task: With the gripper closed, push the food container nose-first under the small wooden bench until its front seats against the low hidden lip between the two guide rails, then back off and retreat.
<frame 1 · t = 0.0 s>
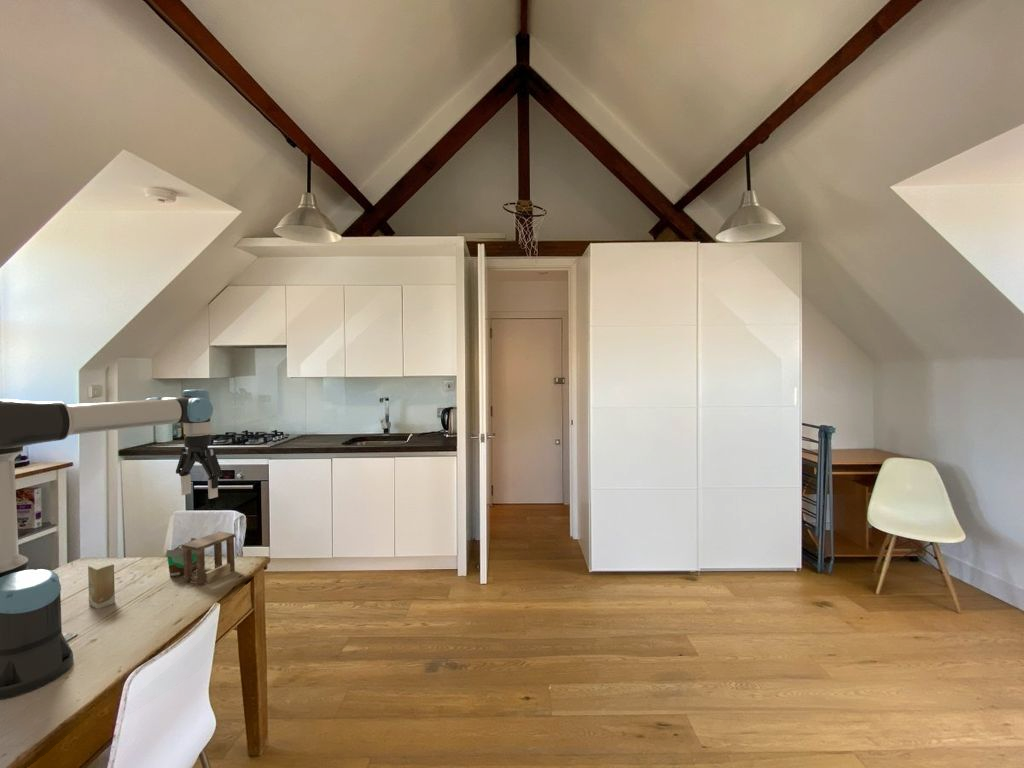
hand: (199, 496, 153), 28 cm above the table, fingers open, 13 cm apart
skincare box: (102, 604, 136), on the table
small wooden bench: (210, 576, 154), on the table
food container: (188, 572, 158), on the table
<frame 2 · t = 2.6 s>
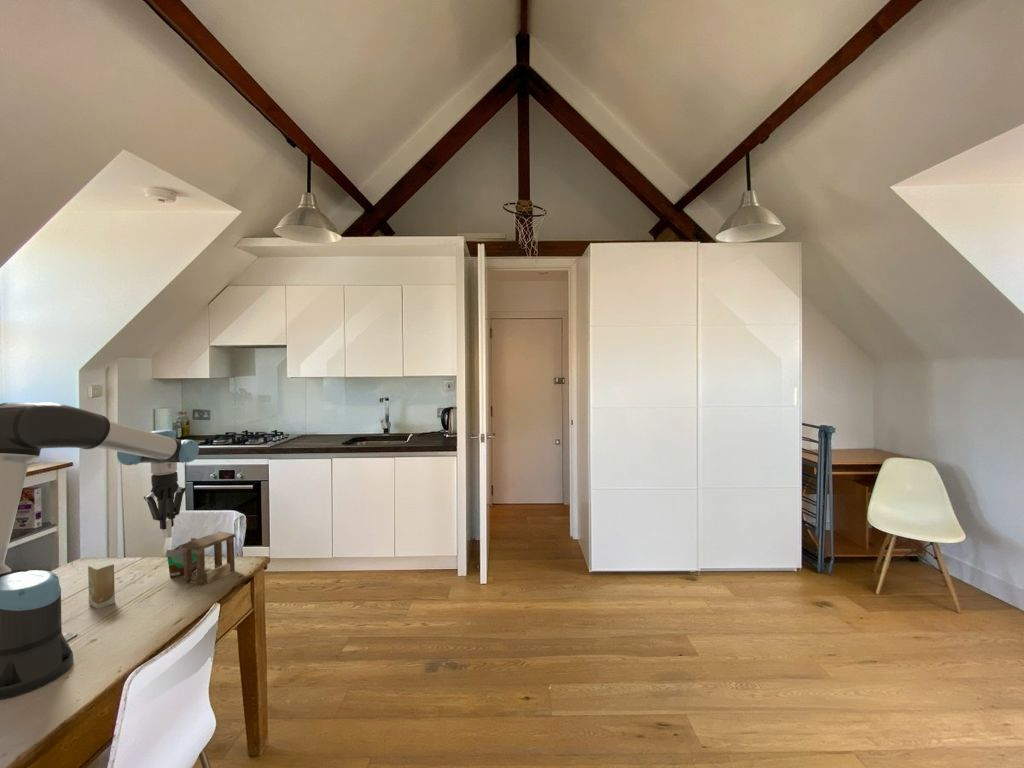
hand: (167, 536, 162), 11 cm above the table, fingers closed
nothing on the table moved.
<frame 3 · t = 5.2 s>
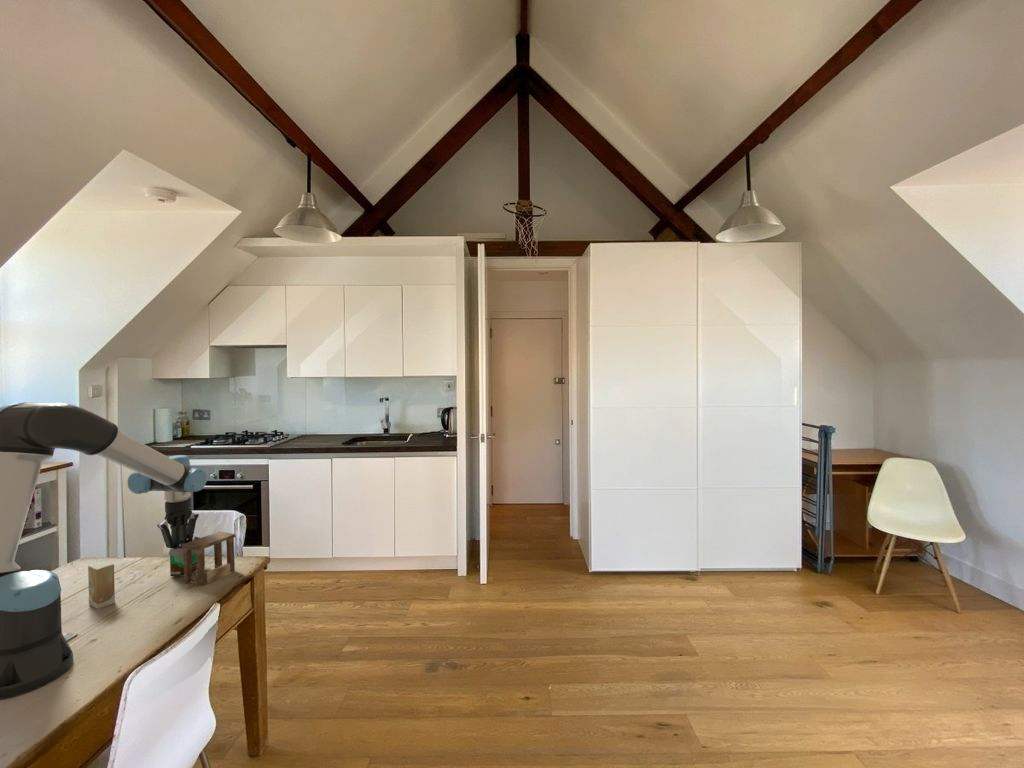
hand: (180, 564, 159), 2 cm above the table, fingers closed
food container: (189, 571, 158), on the table, touching gripper, hand
everything else where it was.
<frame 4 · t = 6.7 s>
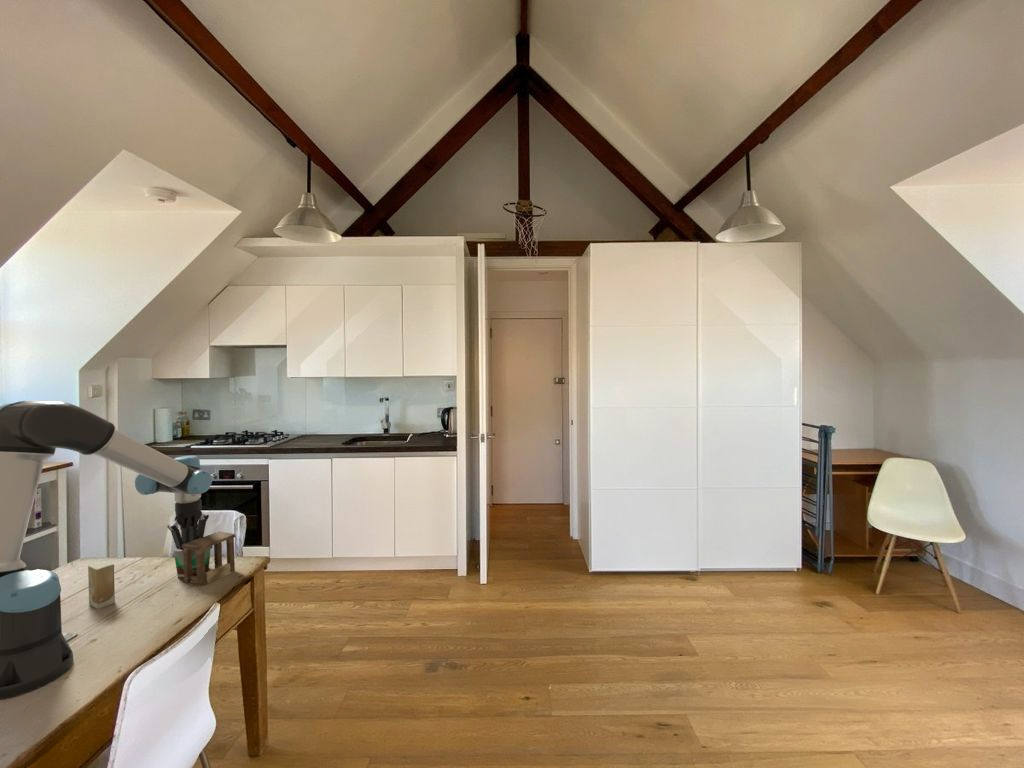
hand: (190, 566, 158), 2 cm above the table, fingers closed
food container: (197, 574, 156), on the table, touching gripper, hand
everything else where it was.
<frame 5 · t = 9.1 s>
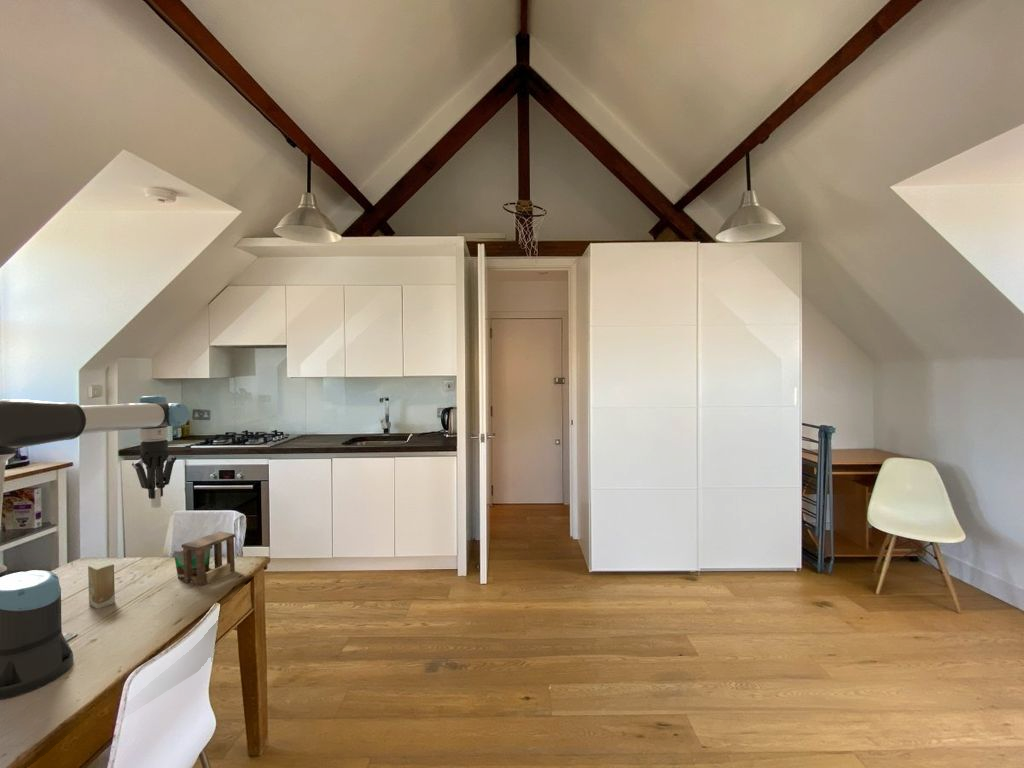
hand: (156, 506, 156), 24 cm above the table, fingers closed
food container: (197, 575, 156), on the table
everything else where it was.
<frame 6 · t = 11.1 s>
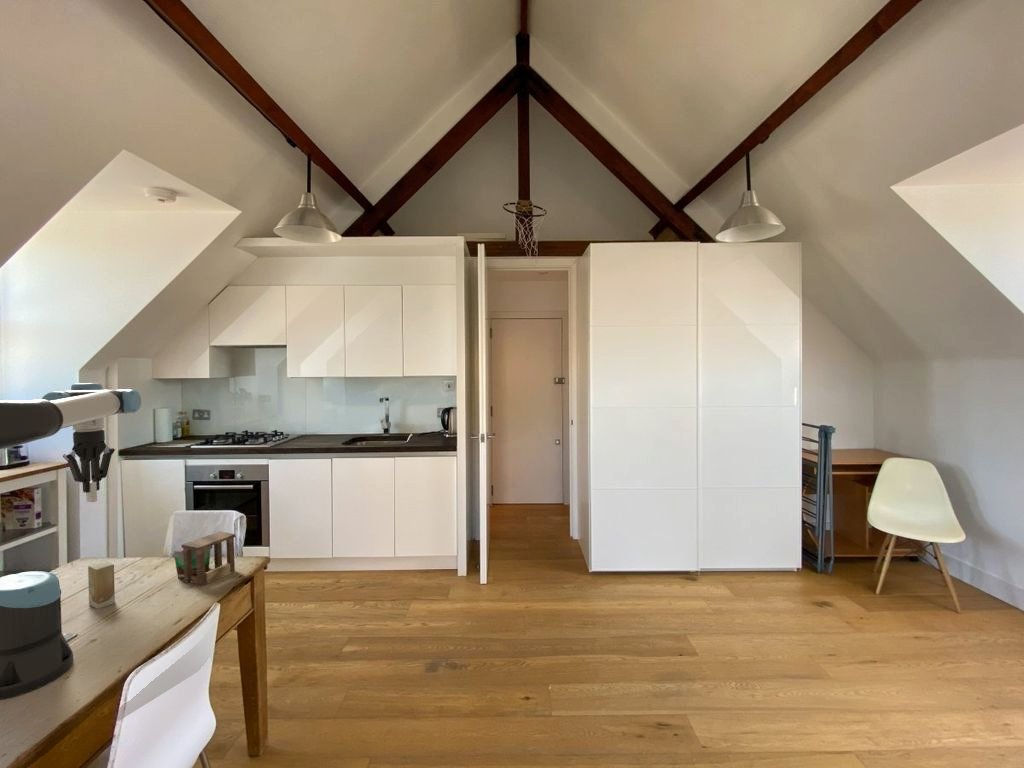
hand: (91, 501, 147), 28 cm above the table, fingers closed
nothing on the table moved.
at the end: food container 2.2 cm from the target spot, on the table; food container tilted 0° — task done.
